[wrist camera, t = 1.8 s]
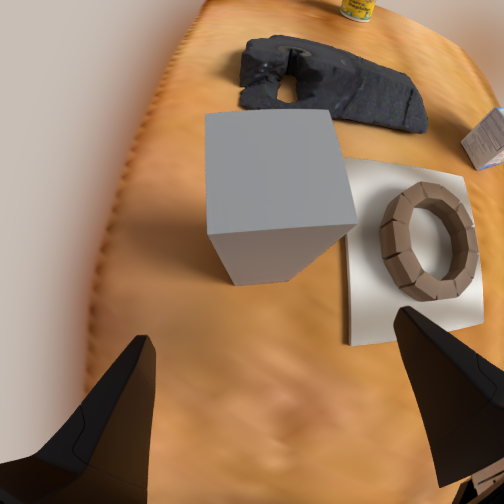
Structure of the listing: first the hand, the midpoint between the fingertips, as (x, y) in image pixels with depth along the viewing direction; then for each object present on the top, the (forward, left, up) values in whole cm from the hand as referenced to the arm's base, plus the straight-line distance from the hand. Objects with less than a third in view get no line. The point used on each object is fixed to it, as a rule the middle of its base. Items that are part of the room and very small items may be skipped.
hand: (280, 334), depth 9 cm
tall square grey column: (+5, 0, -11) cm, 12 cm away
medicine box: (+19, -30, -12) cm, 37 cm away
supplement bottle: (+47, -17, -12) cm, 51 cm away
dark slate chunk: (+25, -9, -12) cm, 29 cm away
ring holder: (+6, -15, -11) cm, 20 cm away
